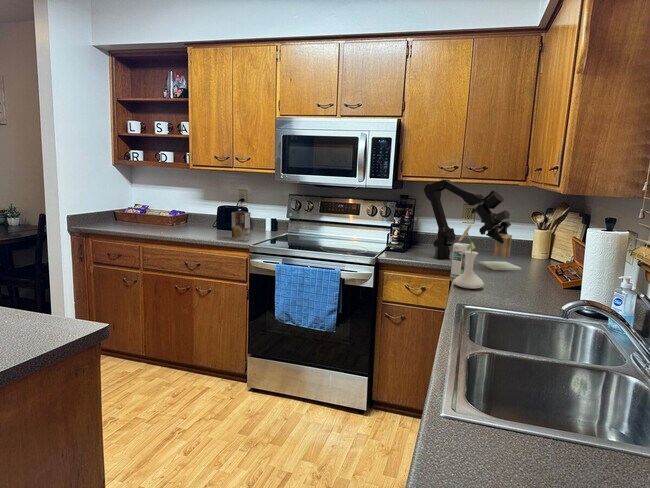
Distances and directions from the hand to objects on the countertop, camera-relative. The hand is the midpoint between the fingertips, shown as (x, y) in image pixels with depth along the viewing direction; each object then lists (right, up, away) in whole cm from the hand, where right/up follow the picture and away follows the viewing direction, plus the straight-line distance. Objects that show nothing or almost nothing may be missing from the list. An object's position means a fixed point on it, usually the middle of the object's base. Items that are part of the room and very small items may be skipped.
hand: (506, 242), depth 207 cm
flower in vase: (-27, -18, -29) cm, 43 cm away
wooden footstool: (-1, -6, +2) cm, 7 cm away
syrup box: (-25, -15, -13) cm, 32 cm away
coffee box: (-130, +2, +59) cm, 143 cm away
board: (+2, -11, +13) cm, 17 cm away
